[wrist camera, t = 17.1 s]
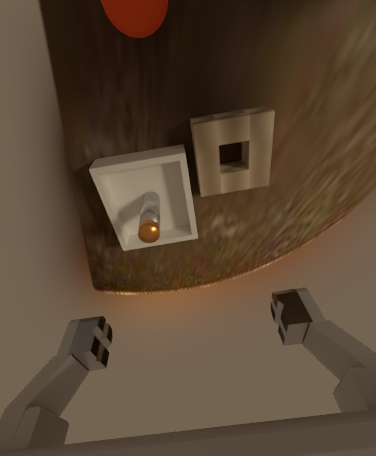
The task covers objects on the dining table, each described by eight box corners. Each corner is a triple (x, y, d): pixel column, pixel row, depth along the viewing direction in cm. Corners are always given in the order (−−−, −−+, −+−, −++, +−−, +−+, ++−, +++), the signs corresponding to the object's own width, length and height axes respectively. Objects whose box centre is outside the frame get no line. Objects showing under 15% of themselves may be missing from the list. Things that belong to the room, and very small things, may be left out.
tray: (183, 144, 36) (185, 152, 33) (195, 225, 45) (198, 238, 42) (95, 159, 36) (88, 169, 33) (126, 237, 46) (123, 250, 42)
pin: (158, 190, 39) (157, 224, 31) (161, 205, 41) (161, 241, 33) (140, 193, 39) (135, 228, 31) (145, 207, 41) (141, 244, 33)
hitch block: (264, 105, 34) (274, 110, 30) (260, 175, 40) (268, 185, 37) (189, 118, 34) (192, 124, 30) (198, 185, 40) (201, 196, 37)
